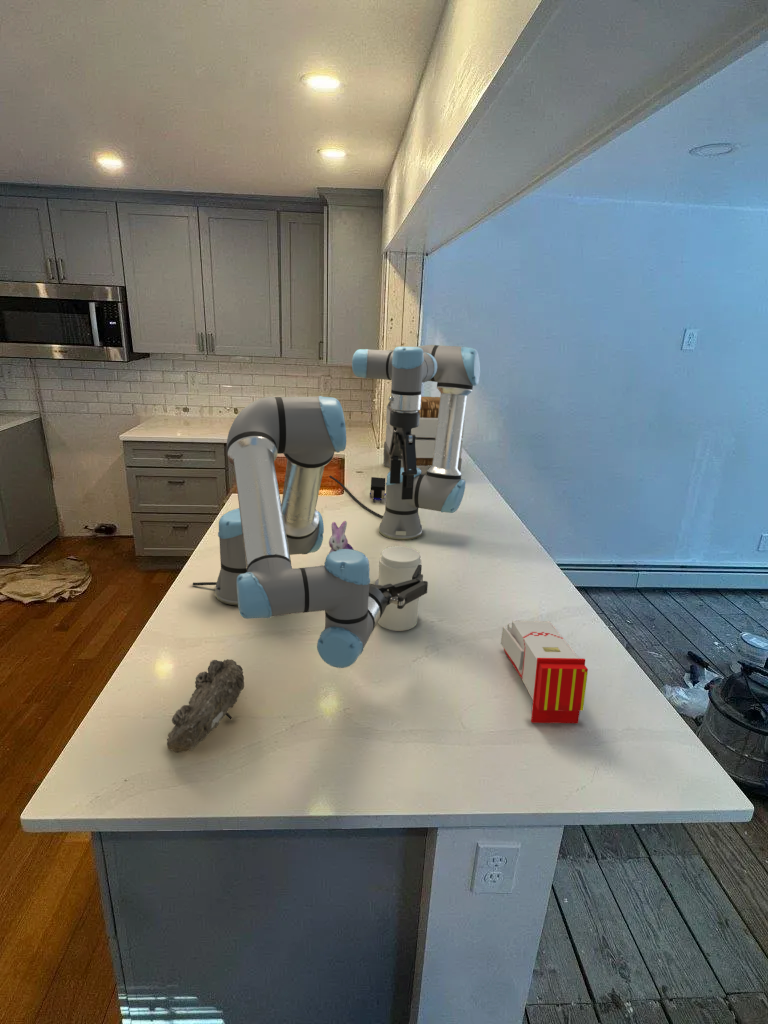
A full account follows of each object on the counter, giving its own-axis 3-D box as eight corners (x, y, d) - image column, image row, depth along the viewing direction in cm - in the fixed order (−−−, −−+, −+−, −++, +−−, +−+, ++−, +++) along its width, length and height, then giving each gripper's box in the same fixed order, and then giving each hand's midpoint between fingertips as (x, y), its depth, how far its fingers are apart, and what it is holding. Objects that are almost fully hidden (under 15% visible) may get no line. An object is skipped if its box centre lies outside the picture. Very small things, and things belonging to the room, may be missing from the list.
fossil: (192, 660, 117) (244, 628, 112) (224, 691, 120) (276, 661, 115) (142, 746, 98) (202, 712, 93) (182, 779, 101) (242, 748, 96)
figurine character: (385, 507, 229) (385, 492, 243) (386, 490, 226) (386, 476, 239) (369, 507, 229) (369, 491, 242) (369, 490, 226) (370, 475, 239)
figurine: (333, 578, 165) (334, 530, 160) (320, 564, 173) (320, 518, 168) (362, 573, 169) (364, 526, 164) (348, 559, 177) (349, 514, 172)
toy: (547, 606, 135) (596, 665, 106) (541, 658, 138) (589, 729, 108) (496, 604, 134) (532, 664, 105) (492, 657, 137) (526, 729, 108)
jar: (368, 616, 146) (371, 550, 139) (401, 606, 151) (405, 542, 145) (392, 635, 138) (396, 565, 132) (425, 623, 144) (430, 556, 137)
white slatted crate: (382, 463, 289) (386, 382, 275) (445, 464, 293) (451, 384, 279) (390, 482, 257) (394, 392, 243) (460, 483, 261) (468, 394, 247)
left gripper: (302, 615, 114) (338, 572, 133) (424, 638, 108) (443, 589, 127) (302, 582, 111) (339, 542, 131) (427, 603, 105) (446, 558, 125)
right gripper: (380, 402, 153) (377, 477, 161) (402, 420, 131) (397, 506, 138) (407, 402, 155) (403, 477, 162) (433, 420, 132) (427, 505, 139)
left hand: (390, 565), depth 129 cm, fingers open, 13 cm apart
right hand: (400, 490), depth 150 cm, fingers open, 13 cm apart
